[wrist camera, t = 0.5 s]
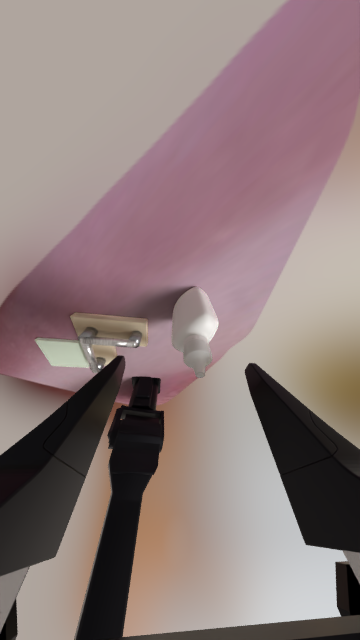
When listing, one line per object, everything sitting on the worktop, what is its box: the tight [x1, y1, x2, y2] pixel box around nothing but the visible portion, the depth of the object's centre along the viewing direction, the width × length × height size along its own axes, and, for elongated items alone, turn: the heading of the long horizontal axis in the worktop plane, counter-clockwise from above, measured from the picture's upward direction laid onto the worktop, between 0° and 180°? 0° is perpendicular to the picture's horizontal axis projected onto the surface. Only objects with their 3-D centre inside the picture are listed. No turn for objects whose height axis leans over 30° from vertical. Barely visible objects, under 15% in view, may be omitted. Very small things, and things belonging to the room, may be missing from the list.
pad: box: [35, 337, 90, 368], centre depth 25 cm, size 7×7×1 cm
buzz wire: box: [70, 312, 148, 373], centre depth 23 cm, size 11×11×4 cm
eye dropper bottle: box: [172, 287, 219, 378], centre depth 15 cm, size 4×6×12 cm
